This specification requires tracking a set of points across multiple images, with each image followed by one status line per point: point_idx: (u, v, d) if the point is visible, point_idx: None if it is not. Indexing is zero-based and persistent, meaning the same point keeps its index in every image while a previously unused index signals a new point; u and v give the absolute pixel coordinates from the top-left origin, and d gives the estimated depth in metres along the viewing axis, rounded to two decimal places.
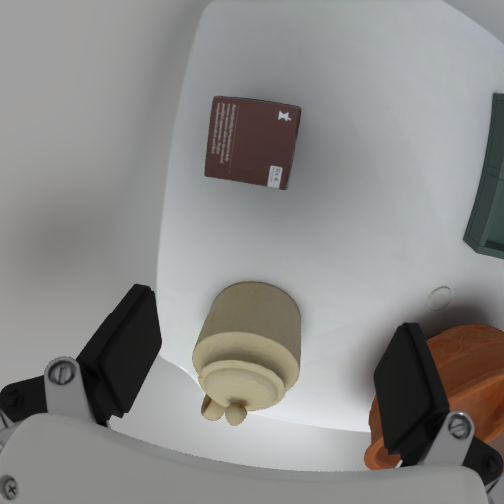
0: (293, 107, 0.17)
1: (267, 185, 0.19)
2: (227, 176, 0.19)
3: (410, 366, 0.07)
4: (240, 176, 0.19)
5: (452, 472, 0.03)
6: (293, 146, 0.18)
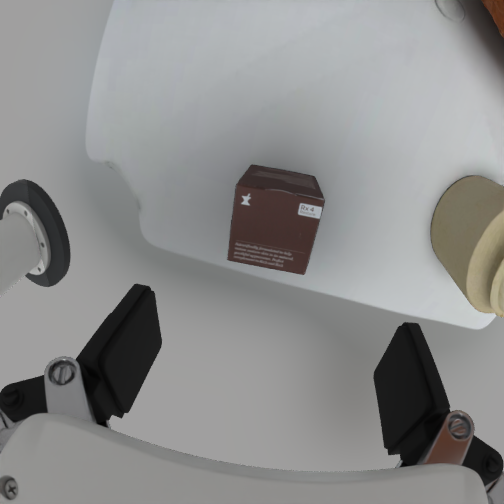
0: (236, 190, 0.18)
1: (318, 218, 0.19)
2: (306, 255, 0.20)
3: (410, 366, 0.07)
4: (307, 243, 0.20)
5: (452, 472, 0.03)
6: (277, 191, 0.18)
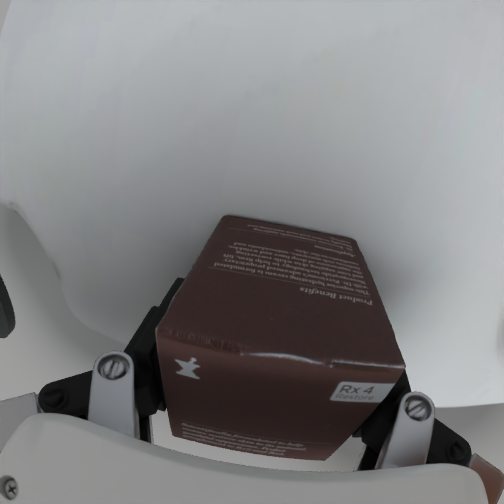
0: (158, 346, 0.06)
1: (379, 401, 0.06)
2: (335, 445, 0.07)
3: None
4: (341, 433, 0.07)
5: (452, 472, 0.03)
6: (277, 360, 0.06)
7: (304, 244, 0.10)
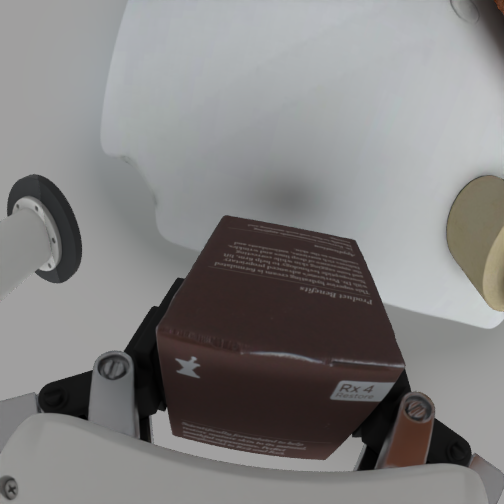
0: (159, 345, 0.06)
1: (379, 400, 0.06)
2: (335, 444, 0.07)
3: None
4: (341, 433, 0.07)
5: (452, 472, 0.03)
6: (277, 359, 0.06)
7: (304, 244, 0.10)
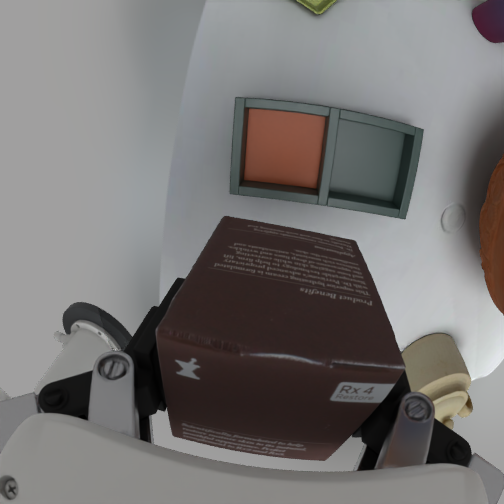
0: (159, 346, 0.06)
1: (379, 402, 0.06)
2: (335, 445, 0.07)
3: None
4: (341, 434, 0.07)
5: (452, 472, 0.03)
6: (277, 360, 0.06)
7: (304, 244, 0.10)
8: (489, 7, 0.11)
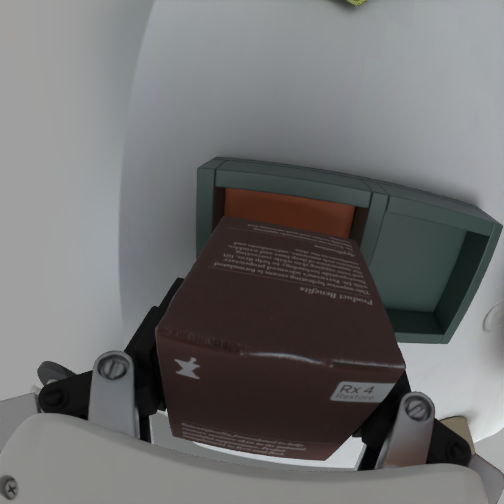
0: (158, 346, 0.06)
1: (379, 401, 0.06)
2: (335, 445, 0.07)
3: None
4: (342, 433, 0.07)
5: (452, 472, 0.03)
6: (277, 360, 0.06)
7: (304, 244, 0.10)
8: None
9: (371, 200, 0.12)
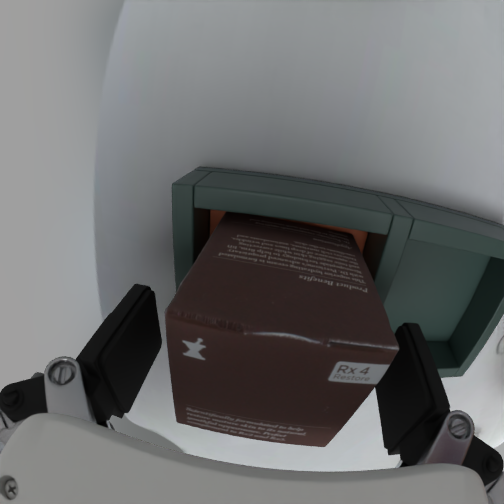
0: (167, 327, 0.07)
1: (375, 383, 0.07)
2: (334, 429, 0.08)
3: (410, 366, 0.07)
4: (340, 417, 0.08)
5: (452, 472, 0.03)
6: (278, 339, 0.06)
7: (303, 237, 0.11)
8: None
9: (391, 225, 0.10)
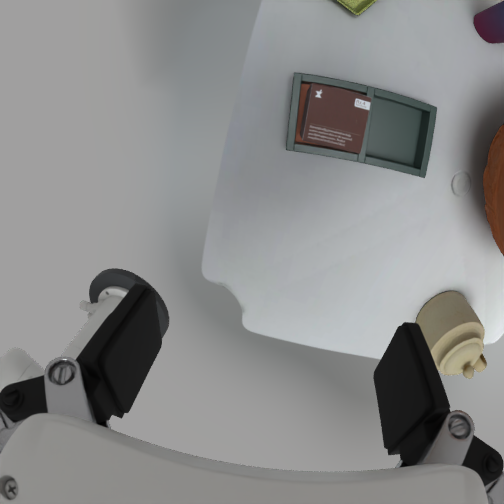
0: (312, 87, 0.23)
1: (368, 110, 0.23)
2: (361, 137, 0.24)
3: (410, 366, 0.07)
4: (362, 127, 0.24)
5: (452, 472, 0.03)
6: (340, 89, 0.22)
7: None
8: (487, 15, 0.15)
9: (367, 89, 0.26)
